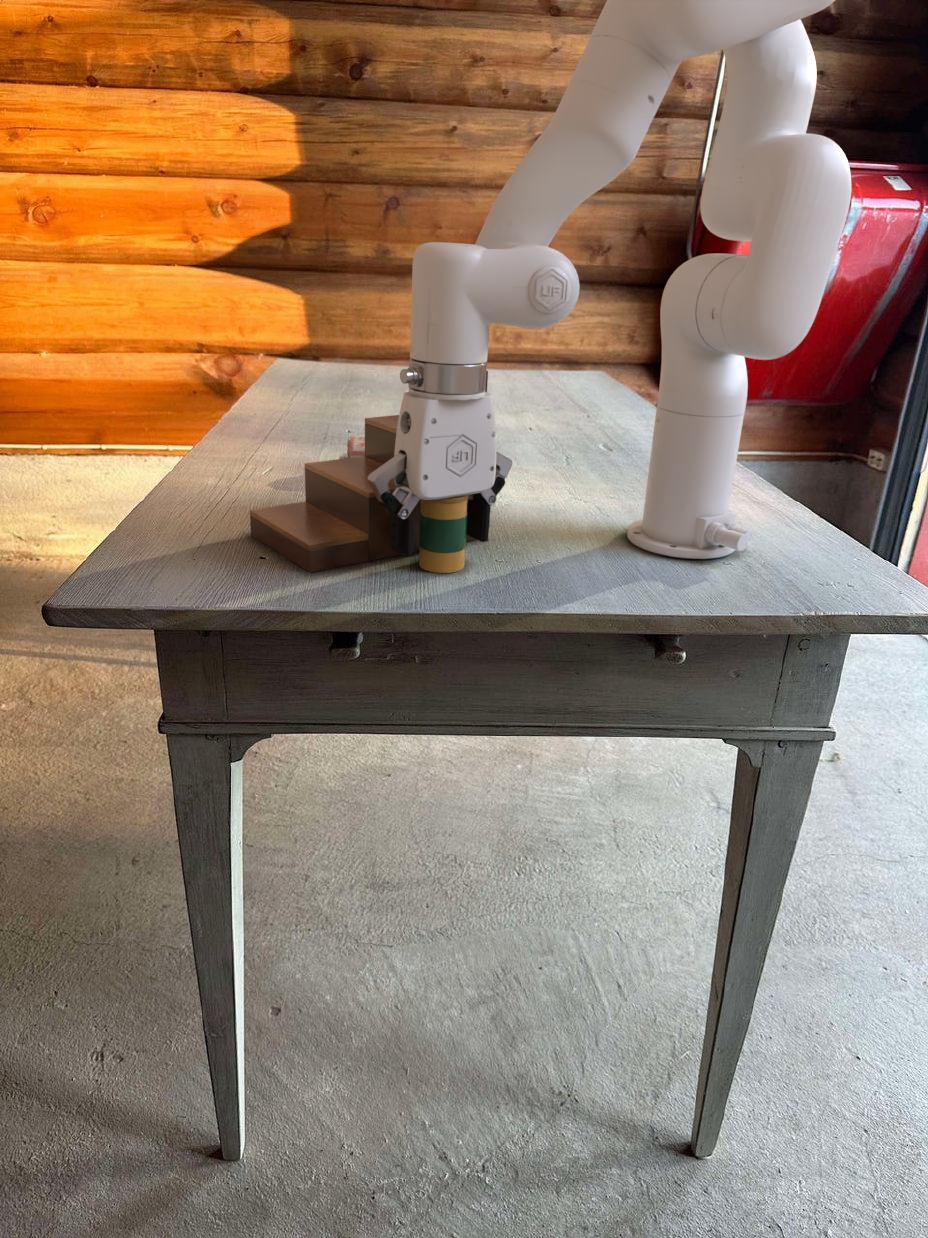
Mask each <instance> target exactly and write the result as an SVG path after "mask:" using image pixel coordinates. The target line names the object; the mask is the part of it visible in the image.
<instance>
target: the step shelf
mask: <svg viewBox="0 0 928 1238" xmlns="http://www.w3.org/2000/svg"><path fill="white" fill-rule="evenodd" d="M488 377H489V371H488V370H486V386H485V392H487V393H488V380H489V378H488ZM398 419H399V414H394V415H393V414H392V415H384V416H374V417H373V416H372V417H365V418H364V437H365V456H361V457H353V458H345V459H339V458H337V459H330V460H322V461H321V460H320V461H313V462H305V463H304V495H305V501H299V502H292V503H287V504H280V505H273V506H267V507H260V508H252V509H249V522H250V523H249V525H250V536H251V537H253V538H255V539H256V540H258V541H259V542H261V543H262V544H264V545H265V546H268V548H270V549H272V550H274V551H275V552H277V553H278V554H280V555H282V556H284V557H285V558H286V559H288V560H289V561H291V562H292V563H294V564H295V565H297V566H299V567H300V568H302V569H303V570H305V571H306V572H309V573H315V572H318V571H325V570H330V569H336V568H340V567H344V566H345V567H346V566H350V565H354V564H355V565H356V564H360V563H364V562H365V563H366V562H370V561H375V560H381V559H386V558H389V557H391V558H392V557H396V556H400V555H402V554H400V553H398V552H396V551H394V550H393V549H392V548H391V544H390V540H389V536H390V513H388V512H386V511H385V508H384V507H383V506H382V505H381V504H380V503H379V502H378V501H377V500H376V499H375V493H374V492H373V490H372V488H371V486H370V484H369V482H368V476H369V474H370V473H372V472H373V471H375V470H376V469H377V468H379V467H380V466H382V465H383V464H384V463H386V462H387V461H389V460H390V459H392V458H393V457H394V453H395V441H396V432H397V425H398ZM388 486H389V490H390V492H391V494H393V492H394V491H395V489H396V488H397V487H396V486H395V483H394V478H393V479H391V480H390V481H389V483H388ZM405 498H406V497H405ZM468 499H473V497H472V495H471V494H470V495H469V497H468ZM468 499H467V502H468ZM403 501H404V500H403ZM401 504H402V503H401ZM420 511H421V499H420V500H419V502H418V503H417V505H416V506H415V507H414V509H413V510H412V512H411V513H410V515H409V517H410V518H413V520H414V541H413V553H415V552H420V546H419V533H420ZM470 541H477V540H476V539H474V538H472V537H470V536H468V535H466V542H470Z"/></svg>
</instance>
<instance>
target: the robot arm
mask: <svg viewBox="0 0 928 1238" xmlns="http://www.w3.org/2000/svg"><path fill="white" fill-rule="evenodd" d="M834 2H836V0H606V1H605V3H604V5H603V8H602V10H601V11H600V14H599V16H598V18H597V21H596V23H595V26H594V27H593V30H592V32H591V34H590V36H589V38H588V41H587V43H586V45H585V47H584V49H583V51H582V54H581V55H580V56H581V57H579V61H578V63H577V65H576V67H575V69H574V72H573V73H572V75H571V78H570V81H569V82H568V84H567V87H566V89H565V90H564V93H563V96H562V97H561V100H560V102H559V104H558V106H557V108H556V111H555V112H554V114H553V116H552V117H551V120H550V122H549V123H548V125H547V126H546V128H545V129H544V130H543V131H542V133H541V134H540V135H539V136H538V137H537V139H536V140H535V141H534V143H533V144H532V145H531V146H530V149H529V150H528V152H527V153H526V154H525V156H524V157H523V159H522V161H521V162H520V163H519V164H518V166H517V167H516V168H515V170H514V171H513V172H512V174H511V175H510V177H509V178H508V180H507V181H506V182H505V184H504V185H503V187H502V188H501V190H500V192H499V193H498V195H497V197H496V198H495V200H494V202H493V204H492V206H491V208H490V210H489V212H488V214H487V217H486V218H485V221H484V223H483V226H482V228H481V229H480V232H479V235H478V236H477V239H476V241H475V243H474V244H472V243H463V242H462V243H461V242H445V241H444V242H443V241H429V242H424V243H422V244H420V245H419V246H418V247H417V248H416V250H414V253H413V258H412V268H411V269H412V270H411V271H412V272H411V303H410V305H411V306H410V337H409V338H410V339H409V340H410V341H409V360H408V368H403V369H401V370H400V372H399V379H400V382H401V383H402V384H407V385H408V391H406V392H404V393H403V395H402V400H401V403H400V409H399V414H398V415H399V419H398V425H397V432H396V441H395V453H394V457H393V458H392V459H390V460H389V461H387V462H386V463H384V464H383V465H382V466H380V467H379V468H377V469H376V470H375V471H373V472H372V473H370V474H369V476H368V482H369V484H370V486H371V488H372V490H373V492H374V493H375V499H376V500H377V501H378V502H379V503H380V504H381V505H382V506H383V507H384V508H385V511H386V512H388V513H390V536H389V540H390V544H391V548H392V549H393V550H394V551H396V552H398V553H400V554H401V555H402V556H404V557H405V558H406V557H411V556H413V554H414V552H413V541H414V520H413V518H410V517H409V515H410V513H411V512H412V510H413V509H414V507H415V506H416V505H417V503H418V502H419V500H420V499H423V500H437V499H444V498H451V497H457V496H464V495H470V494H471V495H472V497H473V499H468V502H467V530H466V535H468V536H470V537H472V538H474V539H476V540H475V541H479V542H481V543H485V542H488V541H489V531H490V519H491V508H492V507H491V506H494V505H495V504H496V502H497V500H498V499H497V496H498V494H499V493H500V492H501V491H502V489H503V488H504V486H505V485H506V479H507V477H508V475H509V474H510V471H511V469H512V467H513V460H512V459H511V458H510V457H507V456H505V455H504V454H502V453H501V452H498V451H497V427H496V426H497V425H496V415H495V407H494V402H493V396H492V394H491V393H490V392H488V391H487V392H485V386H486V371H488V369H487V367H488V366H487V365H488V355H489V353H488V352H489V339H490V338H489V336H490V325H491V324H495V325H505V326H510V327H516V328H521V329H527V330H542V329H548V328H551V327H553V326H556V325H558V324H559V323H561V322H563V321H564V320H565V319H566V318H567V317H568V316H569V315H570V314H571V313H572V312H573V311H574V308H575V306H576V304H577V303H578V300H579V296H580V279H579V274H578V271H577V269H576V268H575V265H574V264H573V263H572V261H571V260H570V259H569V258H568V257H567V256H566V255H565V254H564V253H562V252H560V251H559V250H557V249H555V248H552V247H550V244H551V243H552V241H553V239H554V237H555V235H556V234H557V232H558V231H559V230H560V228H561V227H562V226H563V224H564V222H566V220H567V219H568V217H569V216H570V215H571V214H572V213H573V212H574V211H575V210H576V209H577V208H578V207H579V206H581V204H582V203H584V202H585V201H586V200H587V199H588V198H590V197H591V196H594V194H596V193H597V192H598V191H600V190H602V189H603V188H604V187H606V186H608V184H611V182H613V181H614V180H615V179H617V178H618V176H620V175H621V174H622V173H623V172H624V171H626V169H627V168H629V166H630V165H631V164H632V163H633V161H634V160H635V159H636V157H637V154H638V152H639V150H640V148H641V146H642V144H643V141H644V140H645V137H646V135H647V133H648V131H649V129H650V126H651V124H652V122H653V120H654V118H655V116H656V114H657V112H658V110H659V108H660V105H661V104H662V102H663V100H664V97H665V96H666V93H667V91H668V89H669V87H670V85H671V83H672V81H673V79H674V77H675V75H676V73H677V71H678V69H679V67H680V65H681V64H682V63H683V61H685V60H688V59H693V58H697V57H701V56H707V55H709V54H713V53H716V52H719V51H722V53H723V54H724V59H725V63H726V64H725V65H726V74H727V75H726V76H727V77H726V78H727V79H726V80H727V81H726V88H725V89H726V91H725V95H724V101H723V105H722V110H721V115H720V119H719V123H718V126H717V130H716V134H715V138H714V142H713V146H712V150H711V154H710V158H709V161H708V166H707V169H706V173H705V177H704V182H703V185H702V191H701V196H700V205H699V206H700V207H699V208H700V211H699V212H700V217H701V220H702V222H703V225H704V226H705V227H706V228H707V230H708V231H709V233H712V234H713V235H715V236H716V237H718V238H721V239H723V240H728V241H736V242H746V243H747V242H748V243H750V245H749V249H748V253H747V255H746V254H738V253H737V254H735V253H722V252H721V253H718V252H716V253H705V254H701V255H697V256H694V257H692V258H690V259H688V260H686V261H685V262H683V263H682V264H680V265H679V266H678V267H676V269H675V270H674V271H673V273H672V274H671V275H670V277H669V278H668V280H667V282H666V284H665V286H664V289H663V292H662V296H661V300H660V308H659V311H660V314H659V315H660V317H659V320H660V321H659V322H660V323H659V324H660V338H661V340H660V341H661V364H660V378H659V387H658V396H657V402H656V403H657V404H656V410H655V417H654V426H653V432H652V433H653V435H652V441H651V449H650V456H649V457H650V458H649V465H648V472H647V473H648V474H647V482H646V488H645V489H646V490H645V498H644V504H643V505H644V506H643V512H642V513H643V514H642V519H640V520H639V519H638V520H636V521H634V522H632V523H631V524H629V526H628V528H627V535H626V536H627V539H628V541H629V542H630V543H632V545H634V546H636V547H638V548H640V549H642V550H645V551H647V552H651V553H654V554H658V555H661V556H667V557H672V558H679V559H690V560H708V559H709V560H710V559H717V558H723V557H726V556H729V555H731V554H733V553H734V552H735V551H737V552H743V551H744V550H745V549H746V548H747V546H748V543H749V542H750V541H751V539H752V535H753V532H752V531H751V530H749V529H747V528H743V527H738V526H736V524H735V523H736V517H737V512H735V511H732V510H729V509H730V504H731V503H730V502H731V497H732V491H733V485H734V477H735V472H736V467H737V460H738V453H739V449H740V443H741V436H742V431H743V423H744V418H745V413H746V407H747V400H748V390H749V383H748V381H749V379H748V369H747V365H746V364H747V363H746V358H748V359H753V360H759V361H761V360H762V361H769V360H777V359H779V358H782V357H784V356H787V355H788V354H790V353H791V352H793V351H794V350H795V349H796V348H797V347H798V346H799V345H800V344H801V343H802V342H803V340H804V339H805V338H806V337H807V336H808V333H809V332H810V330H811V327H812V326H813V323H814V322H815V319H816V317H817V314H818V311H819V309H820V306H821V302H822V299H823V296H824V293H825V290H826V286H827V283H828V280H829V277H830V274H831V271H832V267H833V264H834V261H835V258H836V254H837V251H838V247H839V244H840V242H841V238H842V235H843V232H844V228H845V225H846V222H847V221H846V220H847V218H848V214H849V210H850V205H851V199H852V174H851V168H850V164H849V160H848V158H847V156H846V153H845V152H844V151H843V149H842V148H841V147H840V145H839V144H838V143H836V142H835V141H834V140H833V139H831V138H829V137H827V136H824V135H821V134H817V133H807V130H808V126H809V121H810V118H811V113H812V108H813V104H814V100H815V95H816V90H817V78H818V76H817V70H818V69H817V63H816V58H815V52H814V50H813V47H812V44H811V41H810V38H809V36H808V34H807V31H806V29H805V26H804V23H803V21H802V19H804V18H808V17H810V16H812V15H815V14H816V13H819V12H821V11H823V10H825V9H826V8H827V7H830V6H831V5H832V4H833V3H834ZM393 478H394V483H395V486H396V487H397V488H396V489H395V491H394V492H393V494H391V492H390V490H389V486H388V483H389V481H390V480H391V479H393ZM405 497H406V498H405ZM403 500H404V501H403ZM401 503H402V504H401Z"/></svg>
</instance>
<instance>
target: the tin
mask: <svg viewBox="0 0 928 1238" xmlns="http://www.w3.org/2000/svg"><path fill="white" fill-rule="evenodd" d="M468 497H469V495H464V496H457V497H451V498H444V499H437V500H423V499H421V511H420V533H419V546H420V551H419V555H418V556H419V558H418V565H419V567H420V568H421V570H422V569H423V570H425V571H427V572H431V573H438V574H450V573H451V574H452V573H456V572H459V571H462V570H463V569H465V561H466V560H465V559H466V546H467V541H466V530H467V499H468Z"/></svg>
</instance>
